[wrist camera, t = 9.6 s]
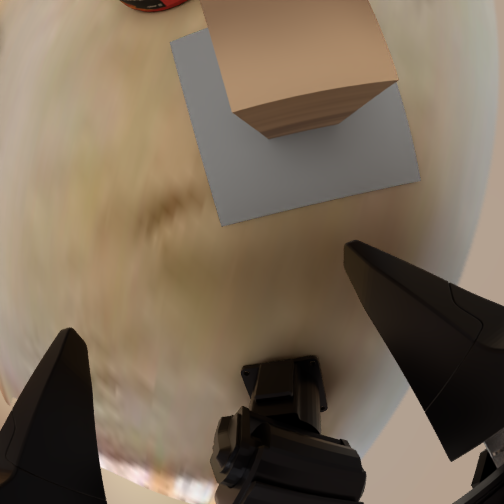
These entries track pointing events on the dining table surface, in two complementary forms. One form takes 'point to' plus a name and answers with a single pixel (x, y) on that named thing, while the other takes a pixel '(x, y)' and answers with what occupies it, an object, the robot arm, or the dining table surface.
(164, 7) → the canned food
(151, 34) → the dining table surface
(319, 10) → the wooden block
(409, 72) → the dining table surface
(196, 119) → the flat gray square pad
